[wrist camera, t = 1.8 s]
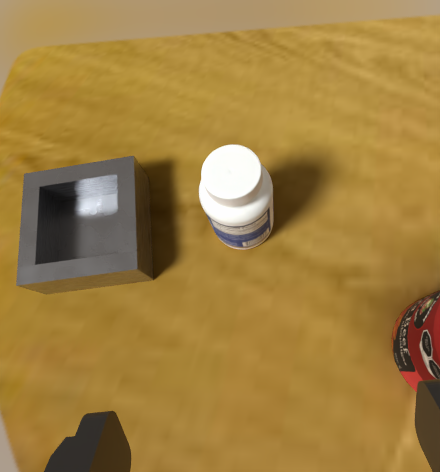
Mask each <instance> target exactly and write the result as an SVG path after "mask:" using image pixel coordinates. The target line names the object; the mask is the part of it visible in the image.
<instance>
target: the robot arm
mask: <svg viewBox="0 0 440 472" xmlns="http://www.w3.org/2000/svg"><path fill="white" fill-rule="evenodd" d="M415 428H416V433H417V437H418V440H419V443H420V445H421V448H422V450H423V452H424V454H425V456H426V458H427V460H428V463H429V465H430V467H431V469H432V471H433V472H440V379H433V380H423V381H419V382H418V384H417V395H416V409H415ZM130 468H131V451H130V446H129V443H128V441H127V439H126V436H125V434H124V431H123V429H122V426H121V424H120V422H119V419H118V417H117V414H116V413H115V412H114V411H108V412H98V413H88V414H86V415H84V416H83V418H82V420H81V422H80V425H79V427H78V430H77V432H76V435H75V436H73V437H66V438H65V439H64V440H63V442H62V443H61V444H60V445H59V447H58V448H57V449H56V450H55V452H54V453H53V454H52V455H51V457H50V459H49V462H48V464H47V466H46V468H45V471H44V472H130Z"/></svg>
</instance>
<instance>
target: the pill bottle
mask: <svg viewBox="0 0 440 472" xmlns="http://www.w3.org/2000/svg"><path fill="white" fill-rule="evenodd" d="M201 176H202V179H201V182H200V186H199V197H200V202H201V205H202V207H203V209H204V211H205V213H206V215H207V217H208V219H209V221H210V223H211V225H212V227H213V229H214V231H215V233H216V235H217V236H218V238H219V239H220V240H221V241H222V242H223V243H224V244H226V245H227V246H229V247H231V248H235V249H250V248H253V247H256V246H258V245H260V244H261V243H262V242H263V241H265V240H266V238H267V237H268V236H269V234H270V233H271V230H272V227H273V221H274V208H273V185H272V180H271V177H270V175H269V173H268V171H267V170H266V169H265V167H264V166H263V165H262V164H260V161H259V159H258V157H257V156H256V154H255V153H254V152H253V151H251V150H250V149H248V148H246V147H244V146H240V145H226V146H222V147H220V148H218V149H216V150H214V151H213V152H212V153H211V154H210V155H209V156H208V157H207V158H206V160H205V161H204V163H203V166H202V172H201Z"/></svg>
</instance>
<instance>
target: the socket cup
mask: <svg viewBox="0 0 440 472" xmlns="http://www.w3.org/2000/svg"><path fill="white" fill-rule="evenodd" d="M151 280H154V276H153V254H152V232H151V210H150V188H149V177H148V176H147V174H146V173H145V171H144V170H143V168H142V167H141V166H140V164H139V163H138V161H137V160H136V158H135V157H134V156H129V157H123V158H117V159H111V160H105V161H99V162H93V163H87V164H81V165H75V166H69V167H63V168H57V169H51V170H45V171H39V172H33V173H26V174H24V185H23V199H22V213H21V227H20V241H19V255H18V270H17V284H16V286H20V287H23V288H26V289H30V290H33V291H36V292H40V293H43V294H53V293H60V292H68V291H75V290H83V289H91V288H98V287H106V286H113V285H121V284H128V283H136V282H144V281H151Z"/></svg>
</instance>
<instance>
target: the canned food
mask: <svg viewBox="0 0 440 472" xmlns="http://www.w3.org/2000/svg"><path fill="white" fill-rule="evenodd" d="M392 351H393V355H394V359H395V362H396V364H397V366H398V368H399V371H400V372H401V374H402V375H403V377H404V378H405V380H406V381H407V383H408V384H409V385H410V386H411V387H412V388H413V389H414V390H415V391H416V392H417V384H418V382H419V381H423V380H433V379H440V291H438V292H435V293H433V294H431V295H429V296H427V297H425V298H423V299H420V300H418V301H416V302H415V303H413V304H411V305H409V306H408V307H407V308H406V309H405V310H404V311H403V312H402V313H401V314H400V316H399V317H398V319H397V320H396V323H395V326H394V328H393V334H392Z"/></svg>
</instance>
